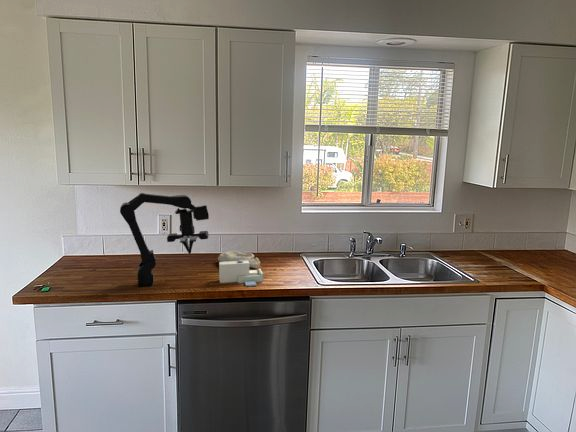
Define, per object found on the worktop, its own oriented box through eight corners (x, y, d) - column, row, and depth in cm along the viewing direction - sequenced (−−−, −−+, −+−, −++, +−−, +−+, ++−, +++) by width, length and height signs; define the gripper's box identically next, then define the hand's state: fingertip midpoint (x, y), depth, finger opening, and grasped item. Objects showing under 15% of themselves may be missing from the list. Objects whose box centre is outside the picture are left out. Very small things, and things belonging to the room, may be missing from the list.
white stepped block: (220, 282, 200) (219, 263, 198) (219, 279, 204) (219, 260, 202) (257, 280, 204) (257, 261, 202) (256, 277, 208) (256, 258, 207)
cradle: (239, 287, 195) (239, 278, 194) (234, 274, 213) (234, 266, 213) (265, 285, 197) (265, 277, 197) (258, 272, 216) (258, 265, 215)
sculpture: (219, 270, 235) (213, 269, 220) (219, 251, 236) (213, 249, 221) (263, 268, 234) (260, 268, 219) (262, 249, 235) (259, 247, 220)
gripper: (207, 216, 206) (210, 247, 210) (169, 219, 205) (172, 250, 208) (206, 221, 196) (209, 254, 199) (165, 224, 194) (168, 257, 197)
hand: (189, 253), depth 201 cm, fingers closed
